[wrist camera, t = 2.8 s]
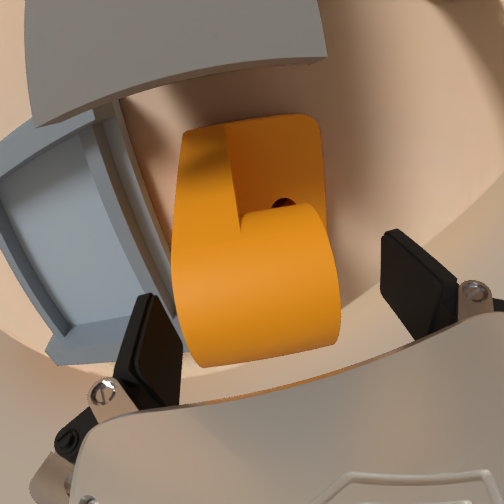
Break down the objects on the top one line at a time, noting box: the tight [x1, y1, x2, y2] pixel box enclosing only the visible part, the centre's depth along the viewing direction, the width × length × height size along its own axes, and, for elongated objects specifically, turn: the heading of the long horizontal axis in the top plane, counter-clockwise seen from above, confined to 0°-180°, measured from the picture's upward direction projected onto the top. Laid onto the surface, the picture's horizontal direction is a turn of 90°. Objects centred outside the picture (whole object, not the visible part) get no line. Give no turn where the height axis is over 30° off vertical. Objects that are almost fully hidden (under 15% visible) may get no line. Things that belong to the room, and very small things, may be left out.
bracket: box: [171, 113, 341, 368], centre depth 13 cm, size 11×7×12 cm, turn 9°
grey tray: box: [0, 99, 189, 366], centre depth 17 cm, size 14×18×4 cm
